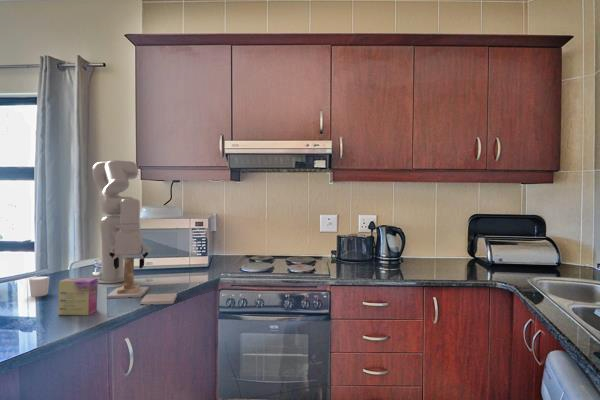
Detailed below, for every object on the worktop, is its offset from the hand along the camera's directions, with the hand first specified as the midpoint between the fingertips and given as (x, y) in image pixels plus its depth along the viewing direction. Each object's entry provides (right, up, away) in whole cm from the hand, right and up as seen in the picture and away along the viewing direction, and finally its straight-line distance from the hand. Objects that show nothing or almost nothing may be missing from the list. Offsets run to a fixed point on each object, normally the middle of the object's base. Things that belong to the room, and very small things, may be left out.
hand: (129, 268), depth 150 cm
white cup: (-35, -10, -4) cm, 37 cm away
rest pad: (0, -11, 0) cm, 11 cm away
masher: (0, -10, 0) cm, 10 cm away
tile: (+11, -11, -10) cm, 18 cm away
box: (-6, -11, -25) cm, 28 cm away
